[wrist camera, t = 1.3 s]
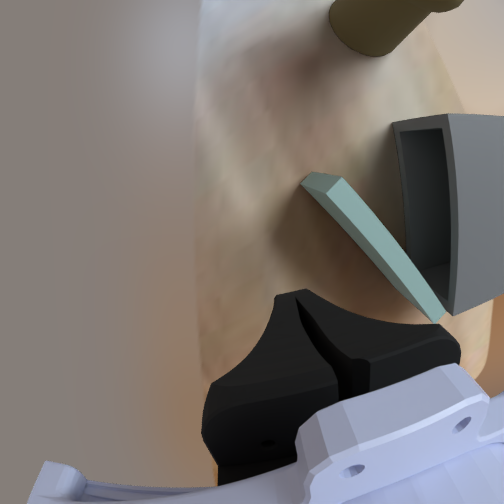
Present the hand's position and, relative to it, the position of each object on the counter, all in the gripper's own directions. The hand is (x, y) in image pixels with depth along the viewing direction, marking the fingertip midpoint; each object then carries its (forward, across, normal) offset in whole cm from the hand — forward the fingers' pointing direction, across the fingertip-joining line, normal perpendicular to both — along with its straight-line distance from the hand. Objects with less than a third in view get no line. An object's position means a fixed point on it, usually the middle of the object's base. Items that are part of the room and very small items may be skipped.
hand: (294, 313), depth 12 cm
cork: (+11, -11, -16) cm, 22 cm away
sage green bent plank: (+10, -7, +1) cm, 12 cm away
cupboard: (+10, -14, -1) cm, 18 cm away
